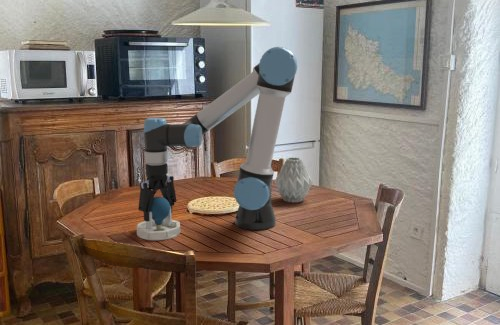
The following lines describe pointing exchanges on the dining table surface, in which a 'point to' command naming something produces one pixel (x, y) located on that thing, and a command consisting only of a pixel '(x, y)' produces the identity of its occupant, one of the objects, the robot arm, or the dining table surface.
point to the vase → (293, 180)
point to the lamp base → (159, 231)
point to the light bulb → (159, 210)
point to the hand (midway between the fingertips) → (158, 226)
